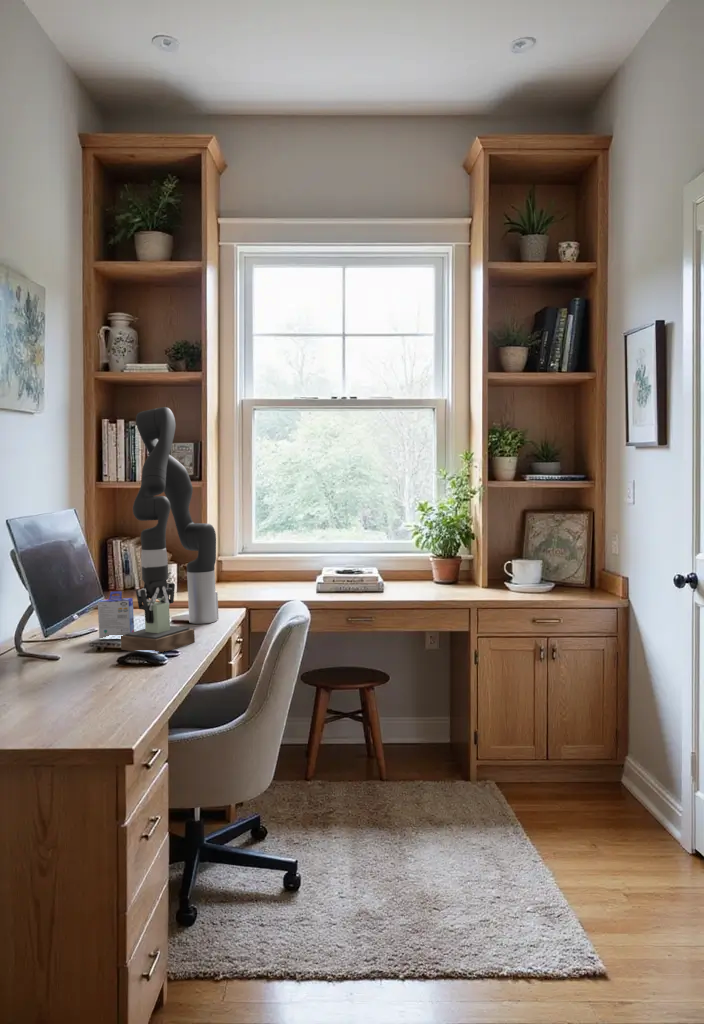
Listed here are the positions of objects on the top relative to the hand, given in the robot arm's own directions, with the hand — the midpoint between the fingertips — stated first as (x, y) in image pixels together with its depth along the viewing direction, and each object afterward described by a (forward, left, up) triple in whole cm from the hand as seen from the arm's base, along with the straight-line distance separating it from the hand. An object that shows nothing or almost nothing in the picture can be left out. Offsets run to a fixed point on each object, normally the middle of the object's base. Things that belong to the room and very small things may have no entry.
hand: (157, 620), depth 243 cm
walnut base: (0, 0, -8) cm, 8 cm away
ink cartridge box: (-3, -20, -8) cm, 22 cm away
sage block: (0, 0, -3) cm, 3 cm away
